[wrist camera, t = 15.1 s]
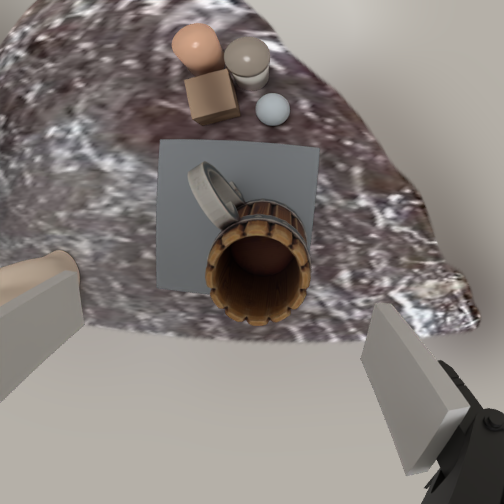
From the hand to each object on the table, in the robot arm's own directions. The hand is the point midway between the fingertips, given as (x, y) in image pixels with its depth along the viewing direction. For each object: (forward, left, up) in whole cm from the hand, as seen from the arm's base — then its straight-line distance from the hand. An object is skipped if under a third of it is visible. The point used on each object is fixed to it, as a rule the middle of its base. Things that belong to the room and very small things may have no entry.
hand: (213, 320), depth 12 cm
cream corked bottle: (-30, -10, -27) cm, 41 cm away
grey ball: (+1, +14, -25) cm, 28 cm away
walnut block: (-6, +15, -27) cm, 31 cm away
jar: (-2, +19, -27) cm, 33 cm away
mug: (0, 0, -26) cm, 26 cm away
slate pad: (-3, 0, -27) cm, 27 cm away
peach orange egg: (-8, +21, -27) cm, 35 cm away
